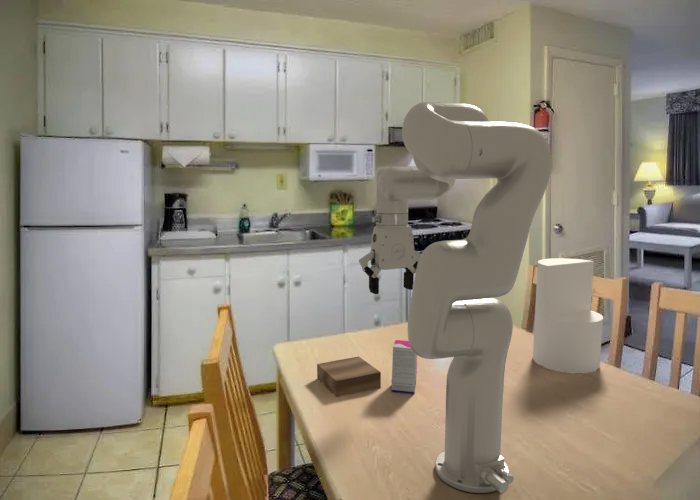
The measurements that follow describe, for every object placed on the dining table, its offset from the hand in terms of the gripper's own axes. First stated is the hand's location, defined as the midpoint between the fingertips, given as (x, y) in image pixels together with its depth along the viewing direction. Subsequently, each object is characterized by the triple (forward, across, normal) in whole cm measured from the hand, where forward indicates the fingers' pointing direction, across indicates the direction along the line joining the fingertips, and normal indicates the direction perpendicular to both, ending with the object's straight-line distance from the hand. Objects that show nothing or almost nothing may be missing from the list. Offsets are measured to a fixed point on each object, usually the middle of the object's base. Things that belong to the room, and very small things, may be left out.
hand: (391, 290), depth 121 cm
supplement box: (+24, +2, -3) cm, 25 cm away
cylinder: (+24, +52, -9) cm, 58 cm away
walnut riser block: (+24, -9, +6) cm, 26 cm away
